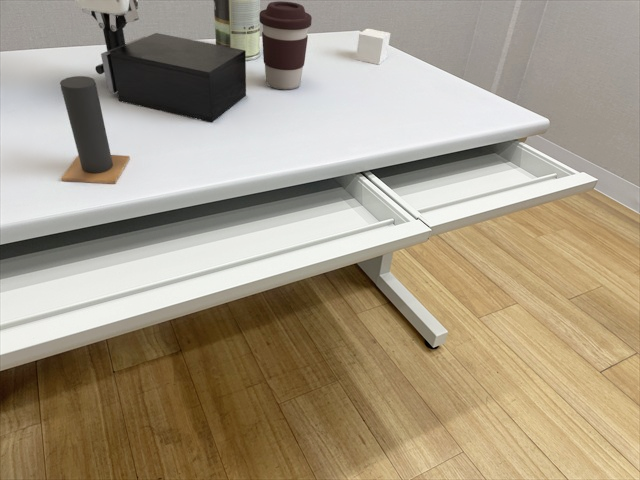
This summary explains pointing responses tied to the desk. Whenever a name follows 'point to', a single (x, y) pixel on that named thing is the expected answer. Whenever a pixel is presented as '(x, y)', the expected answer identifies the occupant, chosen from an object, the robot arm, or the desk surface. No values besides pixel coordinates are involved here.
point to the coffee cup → (284, 43)
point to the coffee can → (238, 25)
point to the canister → (87, 123)
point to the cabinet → (180, 76)
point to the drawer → (109, 68)
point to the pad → (110, 176)
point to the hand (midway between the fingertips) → (116, 51)
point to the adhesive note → (372, 46)
